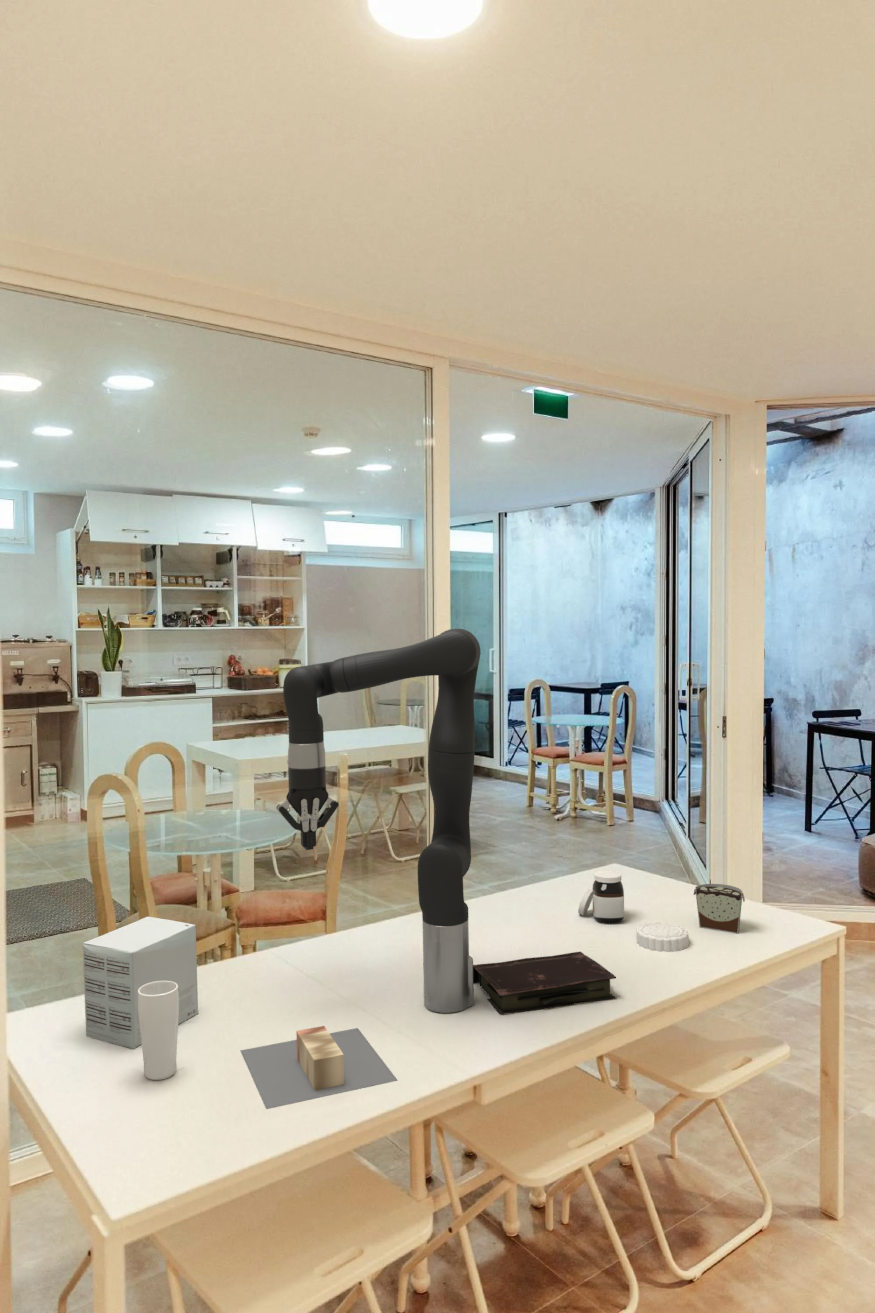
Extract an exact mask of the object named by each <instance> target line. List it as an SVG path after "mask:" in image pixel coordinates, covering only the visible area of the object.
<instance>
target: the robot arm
mask: <svg viewBox="0 0 875 1313" xmlns="http://www.w3.org/2000/svg"><path fill="white" fill-rule="evenodd" d="M480 659H481V645H480V642H479V640H478V639H477V637H476V636H475V634H473V633H472V632H470V631H469V630H468V629H464V628H451V629H446V630H445V631H443V632H441V633H440V634H438V635H435V636H433V637H430V638H428V639H425V640H423V641H420V642H416V643H414V644H411V645H407V646H403V647H398V648H393V649H392V648H391V649H385V650H377V651H370V652H365V653H359V654H355V655H350V656H346V657H341V658H338V659H335V660H333V661H327V662H326V661H325V662H321V663H313V664H309V665H302V666H296V667H293V668H292V669H290V670H289V671H288V672H287V673H286V675H285V677H284V680H283V686H282V687H283V688H282V691H283V700H284V706H285V711H286V715H287V719H288V749H287V750H288V751H287V761H286V762H287V768H288V769H287V773H288V774H287V775H288V776H287V777H288V793H287V794H286V799H285V800H284V802H282V803H281V804H277V806H276V810H277V812H279V814H280V815H281V816H282V817H283V818H284V819H285V820H286V822H287V823H288V824H289V825H290V827H292V828H293V829H295V830H296V831H300V845H301V847H302V848H304V850H305V851H311V850H314V847H316V845H317V830H318V829H320V828H324V827H326V825H327V823H328V822H329V820H330V818H332V816H333V815H334V813H335V811H336V810H337V808H338V807H339V802H337V801H336V800H334V799H332V798H331V797H329V796H330V794H329V792H328V790H327V778H326V777H327V776H326V771H327V770H326V766H327V765H326V750H325V749H326V748H325V742H324V741H325V740H324V737H325V736H324V721H323V717H322V715H321V714H320V713H319V708H318V707H319V706H318V705H319V704H318V699H319V698H323V697H326V696H330V695H335V694H339V693H340V694H341V693H342V694H344V693H351V692H356V691H360V690H365V689H371V688H375V687H379V686H382V685H385V684H390V683H394V682H397V681H401V680H406V679H413V678H418V677H431V676H432V677H433V676H438V677H437V678H438V680H437V681H438V683H437V684H438V694H437V700H436V706H435V712H434V715H433V720H432V724H431V727H430V728H431V729H430V733H429V741H428V756H427V776H428V777H427V778H428V783H429V787H430V788H429V789H430V791H431V796H432V800H433V801H432V802H433V807H434V820H433V828H432V836H431V842H430V844H428V845H427V846H426V847H425V848H424V849H423V850H421V852H420V855H419V857H418V860H417V891H418V904H419V908H420V911H421V915H422V916H421V918H422V919H421V920H422V921H421V922H422V956H423V958H422V959H423V960H422V963H423V967H422V968H423V972H422V973H423V1004H424V1005H423V1006H424V1007H425V1008H426V1009H427V1010H430V1011H431V1012H435V1013H442V1014H443V1013H444V1014H446V1013H447V1014H448V1013H449V1014H450V1013H457V1012H461V1011H464V1010H466V1009H467V1008H469V1007H471V1006H474V1005H475V1001H474V1000H475V996H474V990H475V989H474V988H475V987H474V984H473V965H474V959H473V957H472V956H471V955H470V941H469V940H470V938H469V937H470V936H469V935H470V933H469V906H468V904H467V903H466V902H465V899H464V898H465V896H464V877H465V875H466V874H467V872H468V871H469V870H470V867H471V863H472V862H471V861H472V846H471V832H470V830H471V827H470V810H471V809H470V808H471V801H472V795H473V794H472V792H473V781H474V771H475V750H476V749H475V748H476V747H475V746H476V744H475V743H476V742H475V741H476V740H475V739H476V727H475V725H476V723H475V691H476V684H477V683H476V682H477V676H478V668H479V664H480ZM290 806H291V807H290ZM324 806H325V808H324V809H323V811H322V813H321V814H320V815H319V812H321V810H322V808H323V807H324ZM291 808H292V809H293V810H294V811H295V812H296V813H297V816H298V822H297V820H296V819H295V818H294V817H293V816H292V815H291V814H290V812H291Z"/></svg>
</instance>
